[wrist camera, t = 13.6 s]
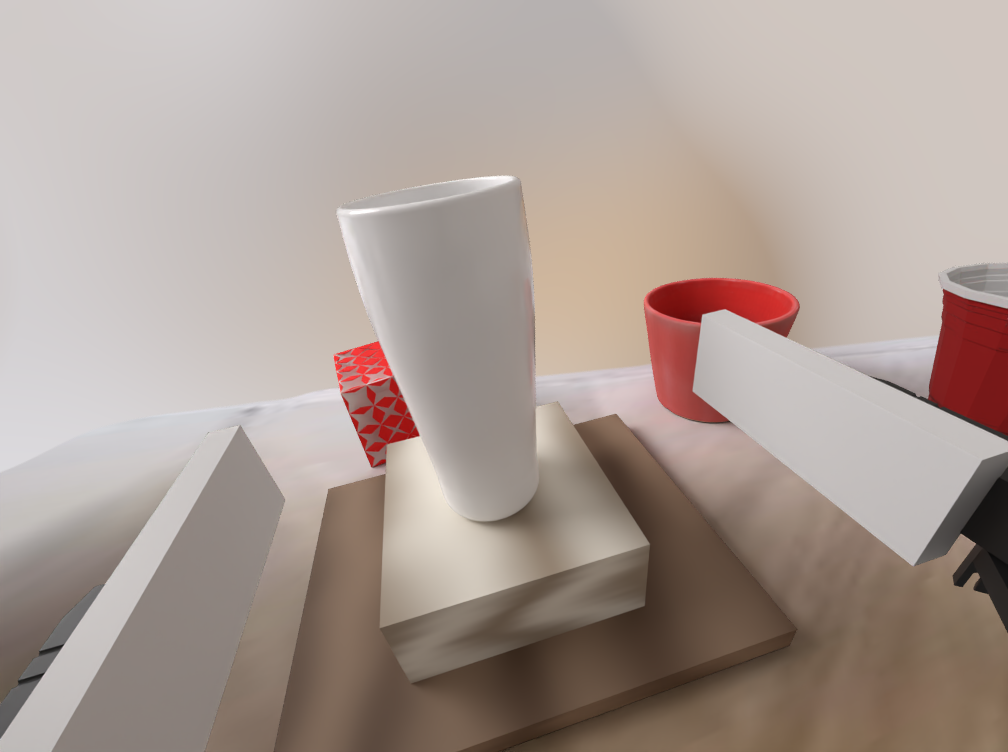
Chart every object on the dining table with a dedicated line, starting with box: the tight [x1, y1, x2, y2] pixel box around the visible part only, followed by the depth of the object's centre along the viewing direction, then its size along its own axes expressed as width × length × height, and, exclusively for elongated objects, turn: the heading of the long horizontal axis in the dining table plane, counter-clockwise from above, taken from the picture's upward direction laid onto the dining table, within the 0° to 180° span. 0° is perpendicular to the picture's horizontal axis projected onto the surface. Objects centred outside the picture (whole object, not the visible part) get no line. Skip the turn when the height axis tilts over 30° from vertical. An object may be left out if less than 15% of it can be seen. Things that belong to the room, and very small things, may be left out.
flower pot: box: [644, 278, 800, 422], centre depth 34 cm, size 11×11×10 cm
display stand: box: [274, 401, 797, 752], centre depth 24 cm, size 24×18×6 cm
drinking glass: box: [336, 176, 540, 522], centre depth 18 cm, size 7×7×15 cm
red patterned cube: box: [333, 342, 420, 467], centre depth 37 cm, size 8×8×8 cm
